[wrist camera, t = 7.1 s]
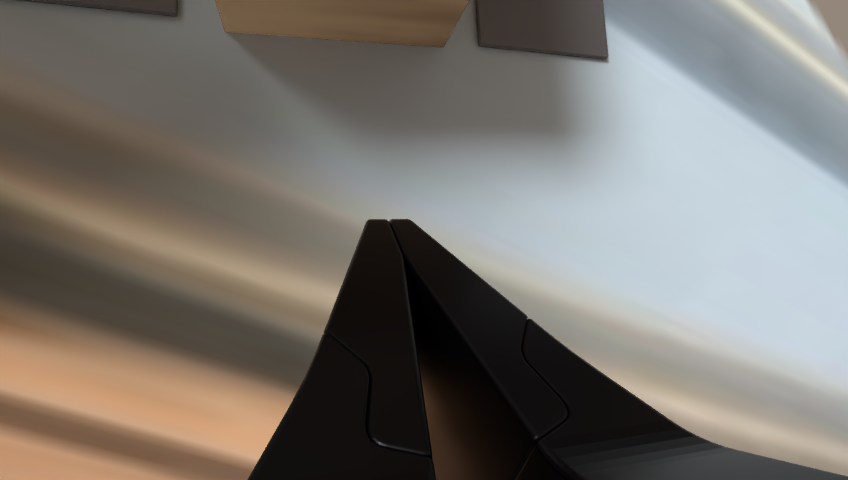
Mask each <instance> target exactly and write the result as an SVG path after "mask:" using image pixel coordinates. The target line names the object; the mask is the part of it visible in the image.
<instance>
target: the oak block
mask: <svg viewBox="0 0 848 480" xmlns="http://www.w3.org/2000/svg"><path fill="white" fill-rule="evenodd" d="M215 1H216V4H217V8H218V11H219V14H220V17H221V20H222V24H223V27H224V30H225V32H232V33H247V34H261V35H275V36H289V37H304V38H318V39H332V40H346V41H361V42H375V43H389V44H403V45H418V46H432V47H444V45H445V43H446V41H447V39H448V38H449V36H450V34H451V32H452V31H453V29H454V27H455V25H456V23H457V22H458V20H459V18H460V16H461V15H462V13H463V11H464V9H465V7H466V6H467V4H468V2H469V0H215Z"/></svg>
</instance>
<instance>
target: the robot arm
mask: <svg viewBox="0 0 848 480" xmlns="http://www.w3.org/2000/svg"><path fill="white" fill-rule="evenodd" d="M527 319H528V317H527V315H526V314H524V313H523V312H522V311H521V310H520V309H518V308H517V307H516V306H515V305H513V304H512V303H511V302H510V301H509V300H507V299H506V298H505V297H504V296H503V295H501V294H500V293H499V292H498V291H496V290H495V289H494V288H493V287H492V286H490V285H489V284H488V283H487V282H486V281H484V280H483V279H482V278H481V277H479V276H478V275H477V274H476V273H475V272H473V271H472V270H471V269H470V268H468V267H467V266H466V265H465V264H464V263H462V262H461V261H460V260H459V259H458V258H456V257H455V256H454V255H453V254H451V253H450V252H449V251H448V250H447V249H445V248H444V247H443V246H442V245H440V244H439V243H438V242H437V241H436V240H434V239H433V238H432V237H431V236H430V235H428V234H427V233H426V232H425V231H423V230H422V229H421V228H420V227H419V226H417V225H416V224H415V223H414V222H412V221H411V220H409V219H392V220H390V221H388V220H385V219H370V220H367V222H366V224H365V226H364V229H363V231H362V234H361V237H360V239H359V242H358V244H357V247H356V250H355V252H354V255H353V257H352V260H351V263H350V265H349V268H348V270H347V273H346V276H345V278H344V281H343V283H342V286H341V289H340V291H339V294H338V297H337V299H336V302H335V304H334V307H333V310H332V312H331V315H330V317H329V320H328V323H327V325H326V328H325V330H324V334H323V335H322V337H321V340H320V343H319V345H318V348H317V350H316V353H315V355H314V357H313V360H312V362H311V364H310V367H309V369H308V371H307V373H306V376H305V378H304V380H303V382H302V384H301V386H300V388H299V389H298V391H297V393H296V395H295V397H294V399H293V401H292V403H291V405H290V407H289V408H288V410H287V412H286V414H285V415H284V417H283V419H282V421H281V422H280V424H279V426H278V427H277V429H276V431H275V433H274V434H273V436H272V438H271V440H270V441H269V443H268V445H267V447H266V448H265V450H264V452H263V454H262V455H261V457H260V459H259V461H258V462H257V464H256V466H255V467H254V469H253V471H252V473H251V474H250V476H249V478H248V480H848V476H844V475H840V474H835V473H831V472H827V471H823V470H819V469H814V468H810V467H806V466H802V465H798V464H793V463H789V462H785V461H781V460H777V459H772V458H768V457H764V456H760V455H756V454H751V453H747V452H743V451H739V450H735V449H731V448H727V447H724V446H721V445H718V444H716V443H713V442H710V441H708V440H705V439H703V438H701V437H699V436H696V435H695V434H693V433H691V432H689V431H687V430H685V429H684V428H682V427H680V426H679V425H677V424H676V423H674V422H673V421H671V420H669V419H668V418H667V417H665V416H664V415H662V414H661V413H659V412H658V411H656V410H655V409H654V408H652V407H651V406H649V405H648V404H646V403H645V402H643V401H642V400H641V399H639V398H638V397H636V396H635V395H633V394H632V393H630V392H629V391H628V390H626V389H625V388H623V387H622V386H620V385H619V384H617V383H616V382H614V381H613V380H612V379H610V378H609V377H607V376H606V375H604V374H603V373H601V372H600V371H599V370H597V369H596V368H594V367H593V366H592V365H590V364H589V363H588V362H586V361H585V360H583V359H582V358H581V357H579V356H578V355H576V354H575V353H574V352H572V351H571V350H570V349H568V348H567V347H566V346H564V345H563V344H562V343H561V342H559V341H558V340H557V339H556V338H554V337H553V336H552V335H550V334H549V333H548V332H547V331H545V330H544V329H543V328H542V327H541V326H539V325H538V324H537V323H536V322H534V321H533V320H532V319H528V320H527Z"/></svg>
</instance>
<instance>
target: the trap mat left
mask: <svg viewBox="0 0 848 480" xmlns="http://www.w3.org/2000/svg"><path fill="white" fill-rule="evenodd" d="M27 1H36V2H46V3H55V4H65V5H75V6H84V7H94V8H103V9H113V10H123V11H132V12H142V13H152V14H161V15H171V16H177V0H27Z"/></svg>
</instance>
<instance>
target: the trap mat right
mask: <svg viewBox="0 0 848 480" xmlns="http://www.w3.org/2000/svg"><path fill="white" fill-rule="evenodd" d="M476 6H477V22H478V37H479V46H485V47H494V48H504V49H513V50H523V51H532V52H542V53H551V54H561V55H570V56H580V57H589V58H599V59H606V58H607V57H608V49H607V39H606V28H605V18H604V8H603V0H476Z"/></svg>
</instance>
